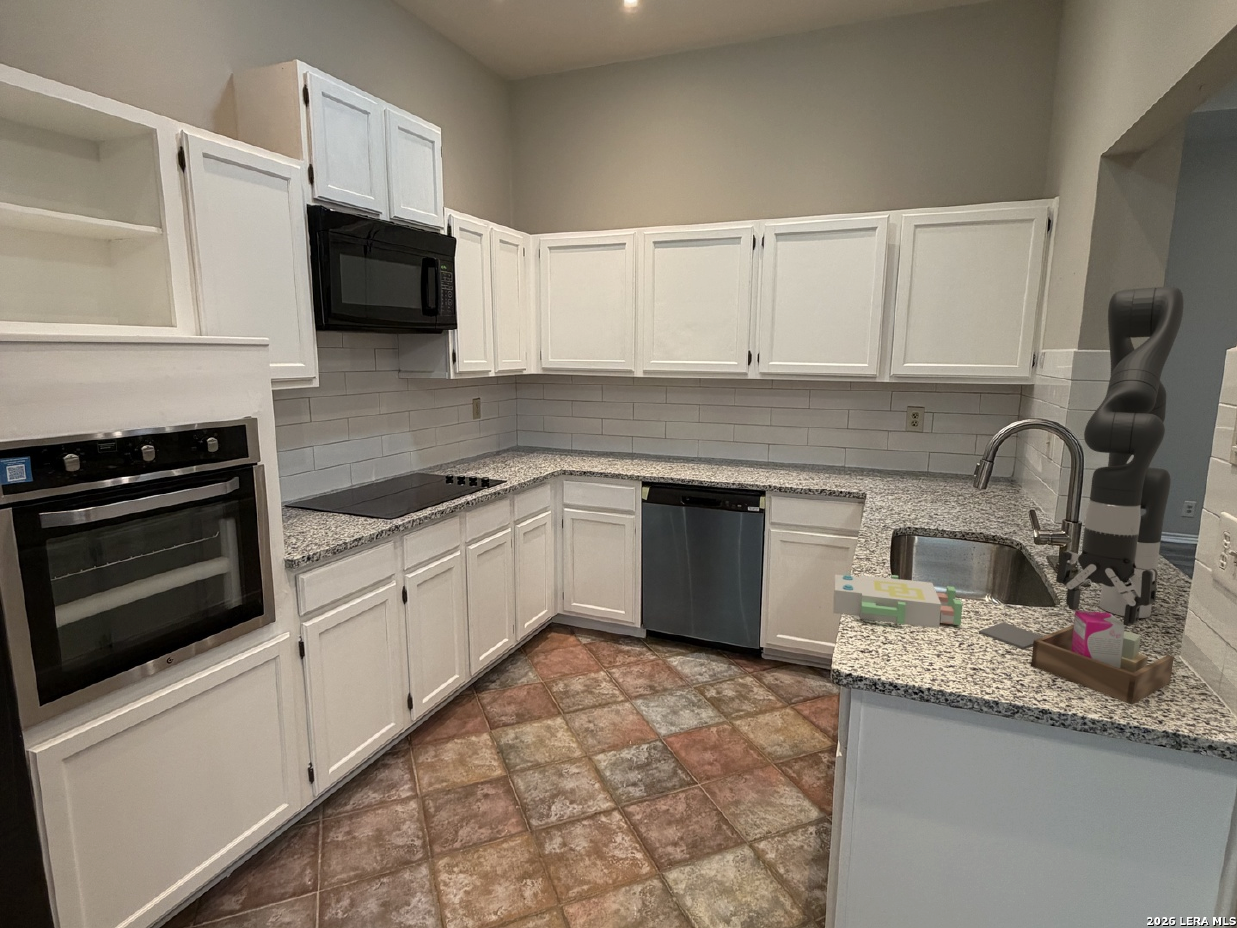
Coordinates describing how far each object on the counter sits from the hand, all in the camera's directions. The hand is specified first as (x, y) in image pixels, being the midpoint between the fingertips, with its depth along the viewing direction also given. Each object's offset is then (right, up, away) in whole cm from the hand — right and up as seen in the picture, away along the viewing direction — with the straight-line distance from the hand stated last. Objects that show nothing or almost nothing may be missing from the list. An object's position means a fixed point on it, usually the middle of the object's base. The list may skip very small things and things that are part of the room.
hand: (1099, 616), depth 115 cm
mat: (-4, -9, +19) cm, 21 cm away
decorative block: (-23, -7, +33) cm, 40 cm away
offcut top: (+6, -7, +4) cm, 10 cm away
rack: (+2, -11, +3) cm, 12 cm away
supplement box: (0, -12, +2) cm, 12 cm away
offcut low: (+6, -11, +5) cm, 13 cm away
